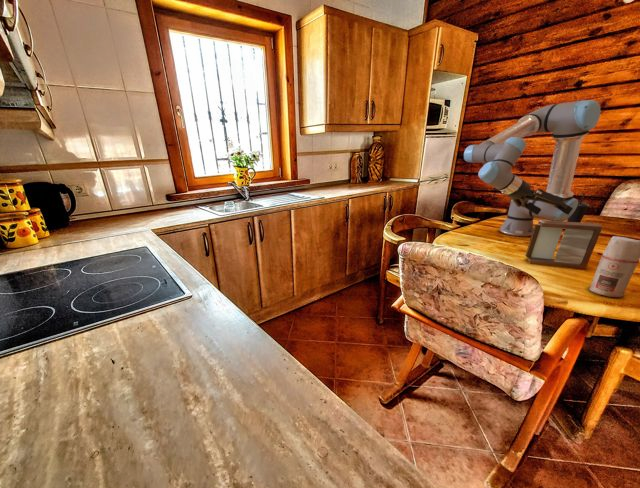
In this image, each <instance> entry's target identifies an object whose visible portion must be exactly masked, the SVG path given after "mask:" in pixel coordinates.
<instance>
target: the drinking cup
mask: <svg viewBox="0 0 640 488" xmlns="http://www.w3.org/2000/svg"><path fill="white" fill-rule="evenodd" d="M585 194H586V192H583V193H582V195H581V198H580V201H578V205H577V208H576V210H575V211H574V213H573V214H572V215H571V216H570V217H569V218H568V219H567V220H566V222H579V223H582V220H583V218H584V216H585V214H586V212H587V210H588V208H589V207H590V204H588V203H587V202H583V201H584V198H585Z"/></svg>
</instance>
